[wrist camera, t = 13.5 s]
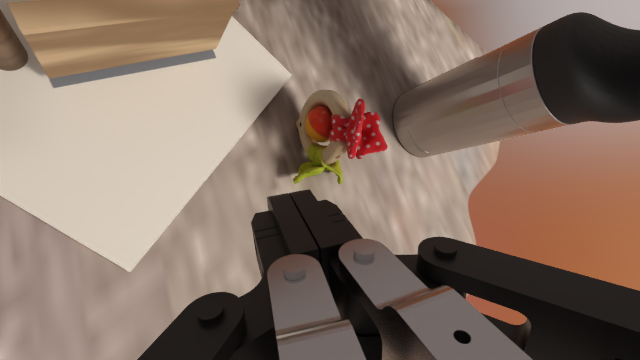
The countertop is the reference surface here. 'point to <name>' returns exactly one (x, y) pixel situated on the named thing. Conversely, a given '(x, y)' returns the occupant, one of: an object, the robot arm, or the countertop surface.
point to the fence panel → (118, 31)
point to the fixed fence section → (10, 47)
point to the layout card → (127, 137)
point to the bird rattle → (335, 133)
